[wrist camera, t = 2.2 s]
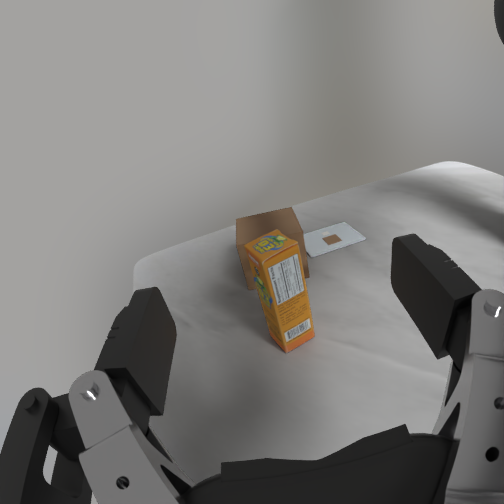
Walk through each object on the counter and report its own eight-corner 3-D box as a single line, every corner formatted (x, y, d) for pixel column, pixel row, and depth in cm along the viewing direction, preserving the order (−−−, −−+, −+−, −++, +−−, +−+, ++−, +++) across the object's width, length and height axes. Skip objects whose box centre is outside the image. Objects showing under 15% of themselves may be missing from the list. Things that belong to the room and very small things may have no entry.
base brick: (298, 248, 40) (291, 207, 37) (309, 278, 34) (302, 231, 31) (246, 259, 40) (236, 219, 37) (249, 291, 34) (236, 245, 31)
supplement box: (265, 335, 27) (240, 242, 23) (297, 318, 28) (279, 225, 24) (284, 357, 25) (261, 259, 20) (316, 338, 26) (304, 239, 21)
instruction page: (344, 222, 43) (344, 220, 43) (365, 239, 38) (365, 237, 38) (294, 238, 42) (294, 236, 42) (311, 257, 37) (311, 255, 37)
